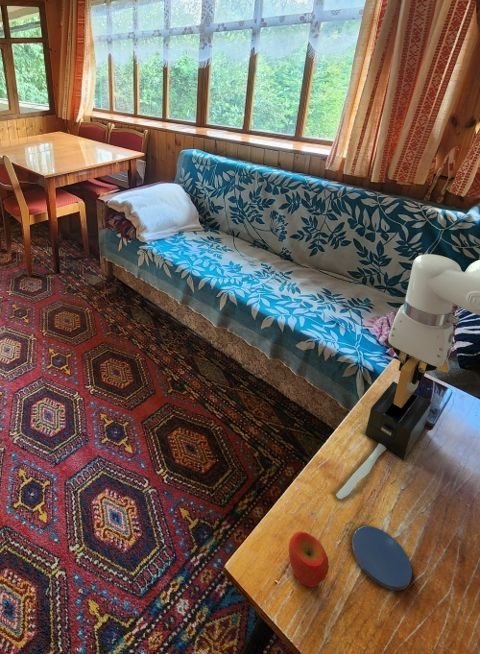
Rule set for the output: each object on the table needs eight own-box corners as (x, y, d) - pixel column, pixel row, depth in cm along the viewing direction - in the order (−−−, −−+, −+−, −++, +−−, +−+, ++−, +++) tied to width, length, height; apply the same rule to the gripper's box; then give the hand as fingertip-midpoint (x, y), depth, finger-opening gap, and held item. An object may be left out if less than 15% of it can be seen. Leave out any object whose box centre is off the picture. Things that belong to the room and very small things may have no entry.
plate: (402, 540, 70) (403, 536, 70) (418, 601, 62) (419, 597, 62) (348, 522, 74) (349, 518, 73) (356, 577, 66) (357, 573, 65)
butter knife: (407, 434, 89) (393, 424, 91) (346, 505, 76) (332, 492, 79) (406, 435, 89) (392, 425, 92) (345, 507, 76) (331, 493, 79)
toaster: (386, 407, 96) (393, 381, 93) (423, 429, 90) (431, 402, 87) (363, 437, 90) (369, 409, 86) (401, 463, 83) (409, 435, 80)
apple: (330, 575, 66) (336, 550, 64) (314, 606, 63) (319, 581, 60) (296, 543, 71) (300, 519, 68) (279, 570, 67) (283, 545, 65)
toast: (409, 382, 89) (418, 347, 85) (417, 386, 88) (426, 351, 84) (393, 403, 84) (401, 367, 80) (401, 408, 83) (410, 372, 79)
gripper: (480, 321, 74) (459, 391, 80) (391, 288, 86) (378, 351, 92) (469, 338, 70) (447, 410, 76) (376, 301, 82) (364, 365, 88)
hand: (409, 377), depth 84 cm, fingers closed on toast, 1 cm apart
